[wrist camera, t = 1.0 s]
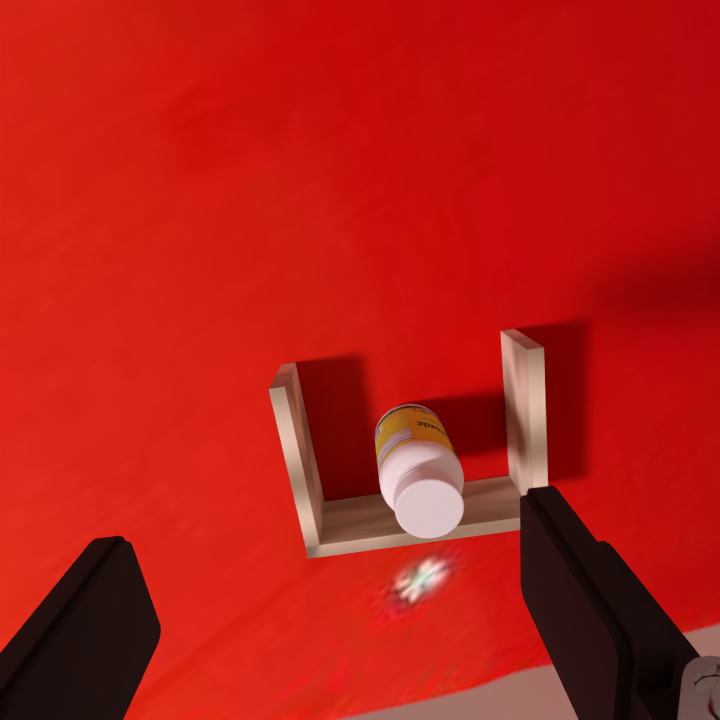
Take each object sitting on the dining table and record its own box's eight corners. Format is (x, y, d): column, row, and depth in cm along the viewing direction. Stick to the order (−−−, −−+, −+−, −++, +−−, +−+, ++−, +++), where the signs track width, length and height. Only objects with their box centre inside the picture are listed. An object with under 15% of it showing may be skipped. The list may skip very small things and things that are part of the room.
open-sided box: (281, 364, 31) (268, 389, 27) (514, 328, 31) (543, 347, 26) (314, 513, 35) (308, 558, 30) (522, 484, 35) (549, 525, 30)
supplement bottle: (456, 438, 33) (494, 517, 24) (401, 475, 34) (418, 566, 25) (416, 387, 32) (441, 452, 23) (360, 427, 33) (362, 505, 24)
